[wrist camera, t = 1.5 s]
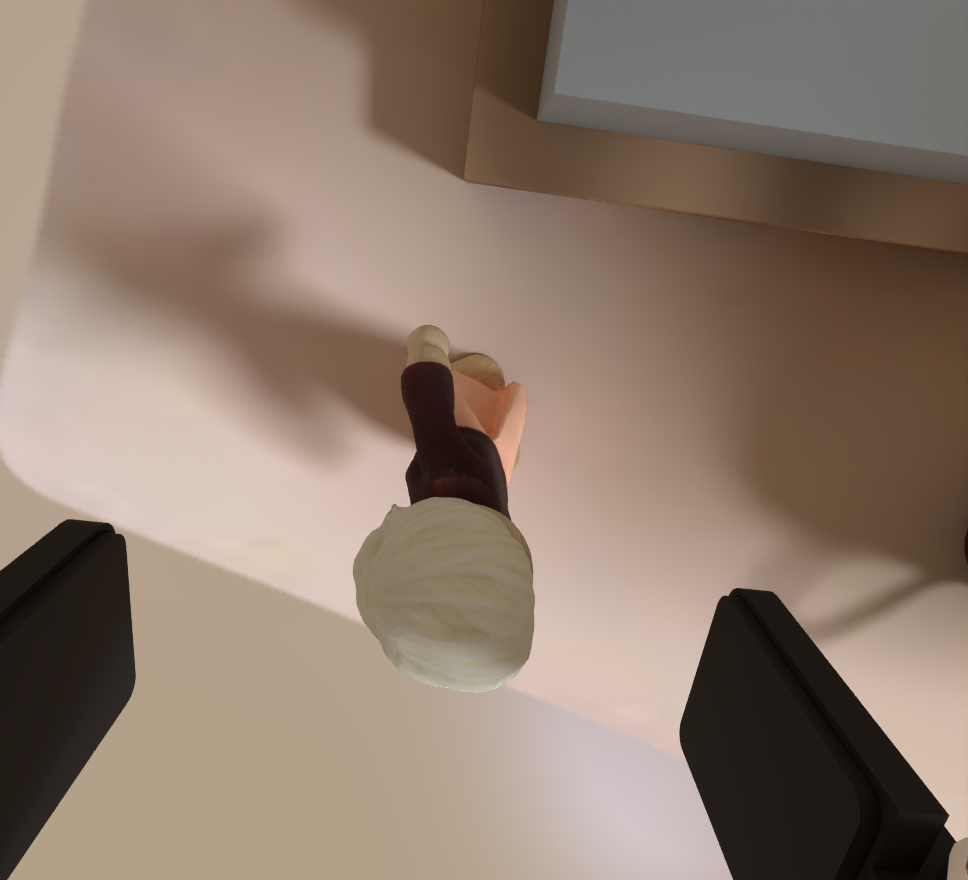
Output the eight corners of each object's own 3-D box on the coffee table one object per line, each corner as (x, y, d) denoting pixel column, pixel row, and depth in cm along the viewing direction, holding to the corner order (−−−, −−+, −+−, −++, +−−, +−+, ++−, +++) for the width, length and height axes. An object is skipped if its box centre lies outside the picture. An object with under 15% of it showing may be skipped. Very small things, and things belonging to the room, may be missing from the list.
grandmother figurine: (560, 480, 23) (646, 785, 11) (461, 515, 23) (439, 845, 11) (480, 275, 20) (479, 378, 8) (371, 320, 21) (222, 478, 9)
